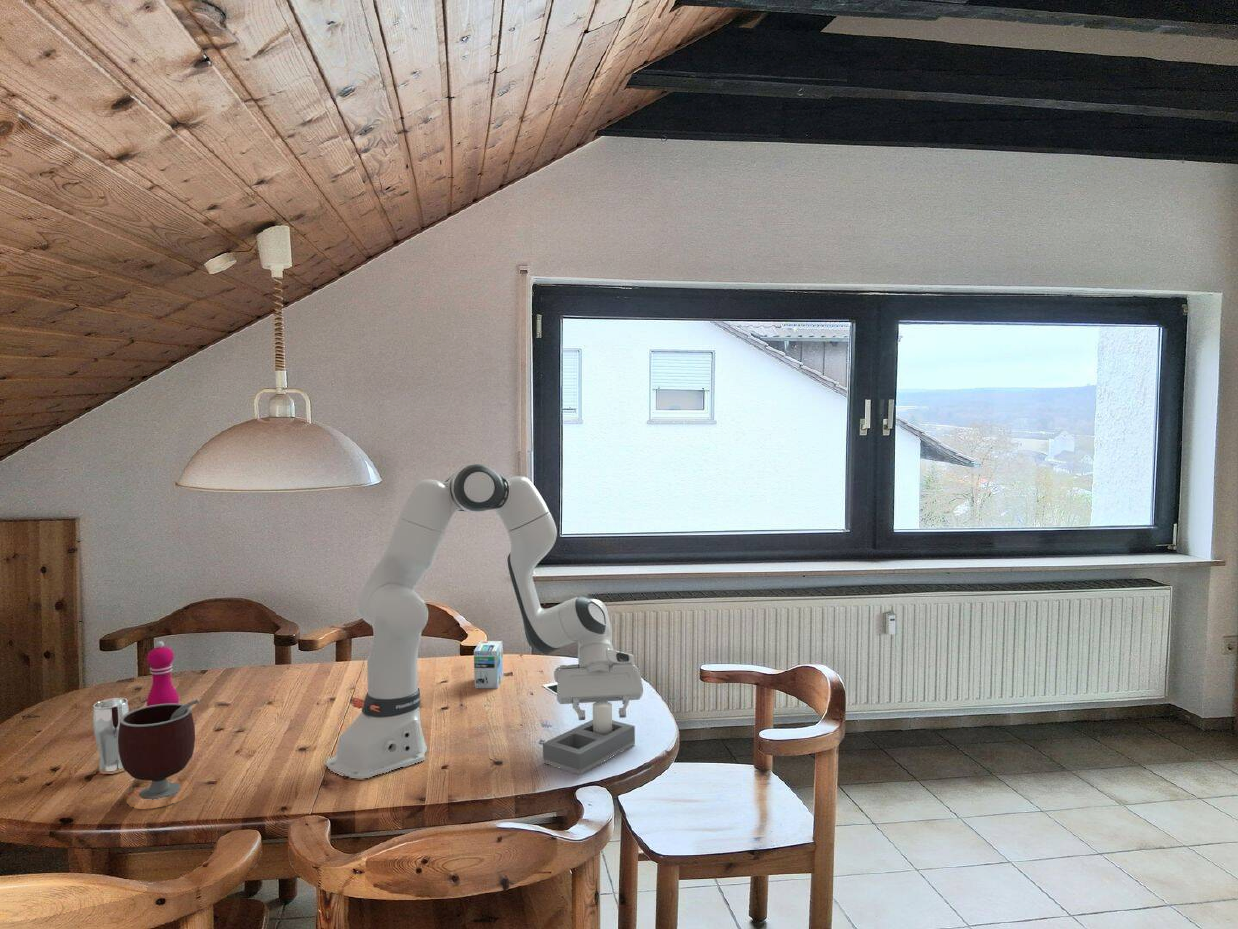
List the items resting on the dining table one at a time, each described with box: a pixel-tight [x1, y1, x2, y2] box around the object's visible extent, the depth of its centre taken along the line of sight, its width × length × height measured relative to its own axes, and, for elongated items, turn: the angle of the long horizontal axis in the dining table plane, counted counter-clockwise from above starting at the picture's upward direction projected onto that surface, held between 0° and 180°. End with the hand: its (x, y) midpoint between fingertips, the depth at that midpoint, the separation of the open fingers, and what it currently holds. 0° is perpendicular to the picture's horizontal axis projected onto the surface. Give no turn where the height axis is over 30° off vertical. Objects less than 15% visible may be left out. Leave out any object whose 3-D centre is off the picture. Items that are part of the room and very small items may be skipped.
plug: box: [592, 701, 613, 735], centre depth 204 cm, size 4×4×9 cm
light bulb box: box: [473, 640, 504, 689], centre depth 251 cm, size 11×7×11 cm, turn 179°
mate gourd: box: [118, 699, 199, 800], centre depth 181 cm, size 16×14×20 cm
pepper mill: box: [146, 640, 180, 706], centre depth 226 cm, size 7×7×20 cm
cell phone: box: [541, 681, 558, 696], centre depth 244 cm, size 8×16×1 cm, turn 30°
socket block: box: [542, 719, 636, 775], centre depth 200 cm, size 20×10×4 cm, turn 143°
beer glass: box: [92, 697, 130, 772], centre depth 194 cm, size 7×7×15 cm
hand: (602, 718), depth 204 cm, fingers open, 8 cm apart
